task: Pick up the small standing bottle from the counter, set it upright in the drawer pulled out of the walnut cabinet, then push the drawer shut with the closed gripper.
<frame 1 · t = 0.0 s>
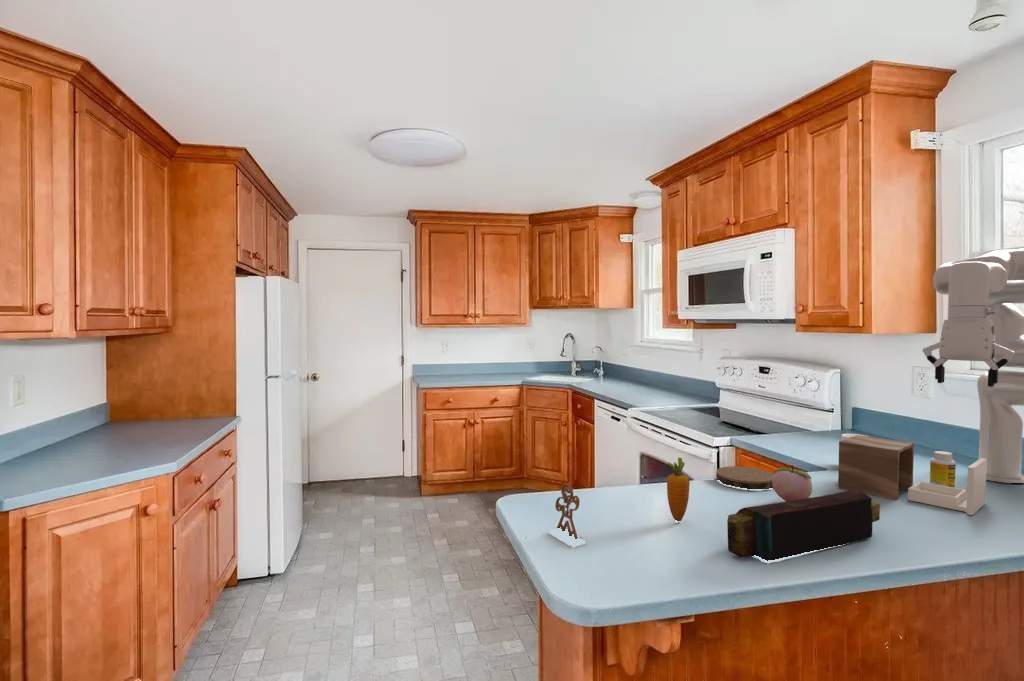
hand: (965, 384, 135), 31 cm above the worktop, tool pointing down, fingers open, 9 cm apart
packaged item: (801, 545, 117), on the worktop
carrot: (677, 524, 129), on the worktop
brown round disc: (745, 484, 161), on the worktop
supplement bottle: (942, 489, 155), on the worktop
cabinet: (875, 488, 155), on the worktop
drawer: (945, 480, 143), point 6 cm above the worktop, slide at 14.0 cm
decorative fruit: (792, 505, 142), on the worktop
gingerbread man figurine: (567, 539, 120), on the worktop
white cup: (855, 468, 178), on the worktop
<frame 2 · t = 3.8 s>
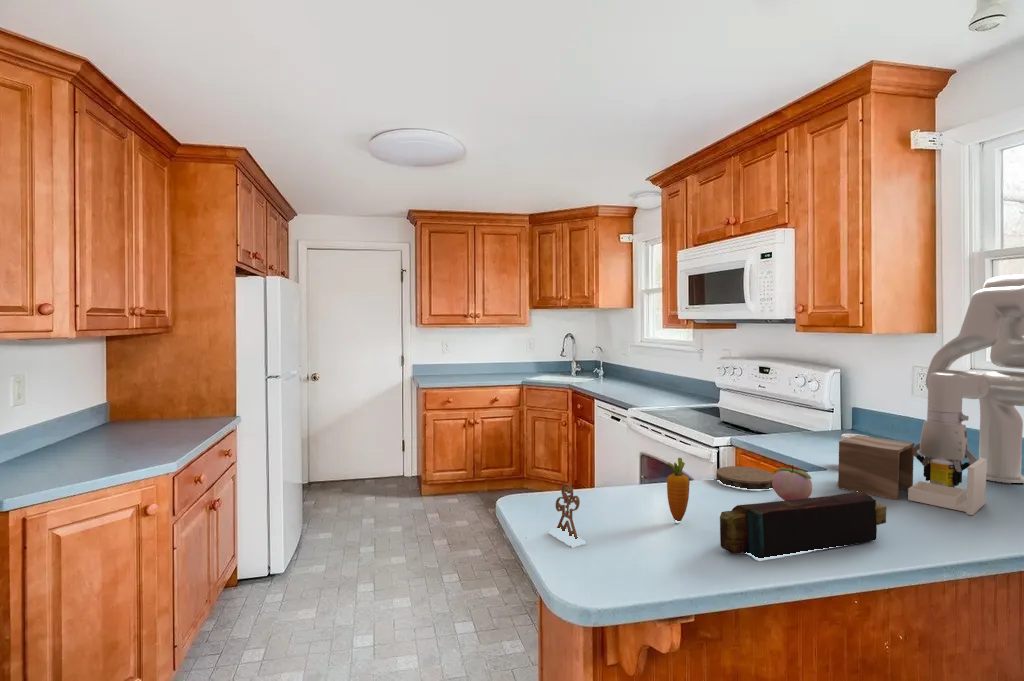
hand: (942, 481, 155), 2 cm above the worktop, tool pointing down, fingers closed on supplement bottle, 5 cm apart
supplement bottle: (942, 489, 155), on the worktop, touching gripper
when the fingers open (5 cm above the worktop, at t = 10.3 s): supplement bottle drops 2 cm, resting on drawer.
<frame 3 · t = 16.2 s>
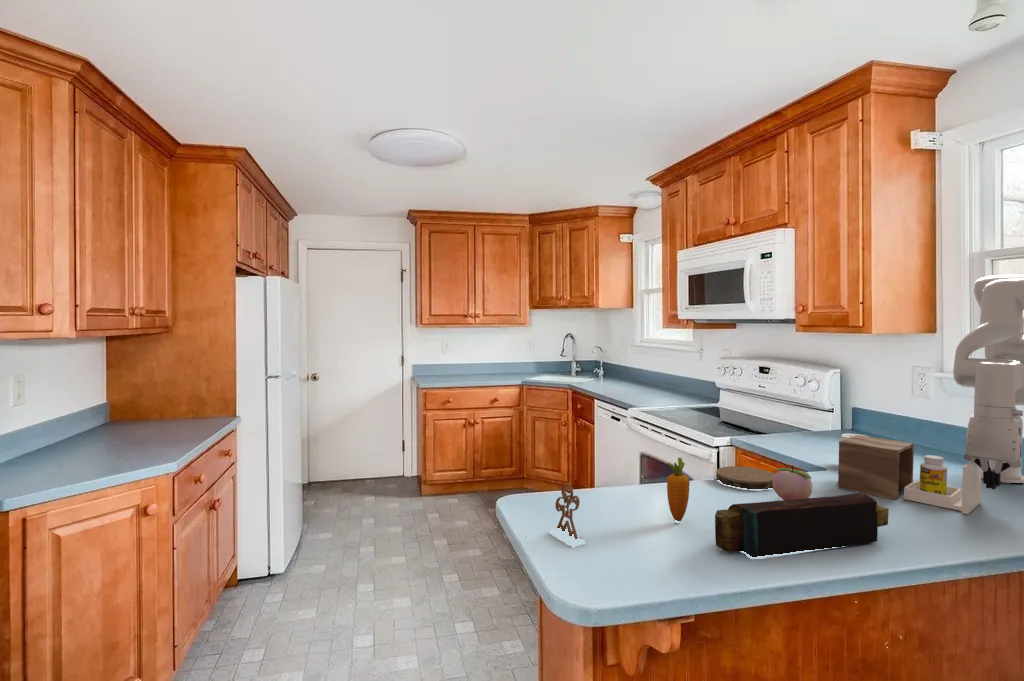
hand: (991, 487, 136), 6 cm above the worktop, tool pointing down, fingers closed
supplement bottle: (932, 496, 145), point 1 cm above the worktop, touching drawer
drawer: (941, 479, 144), point 6 cm above the worktop, slide at 13.1 cm, touching supplement bottle, gripper
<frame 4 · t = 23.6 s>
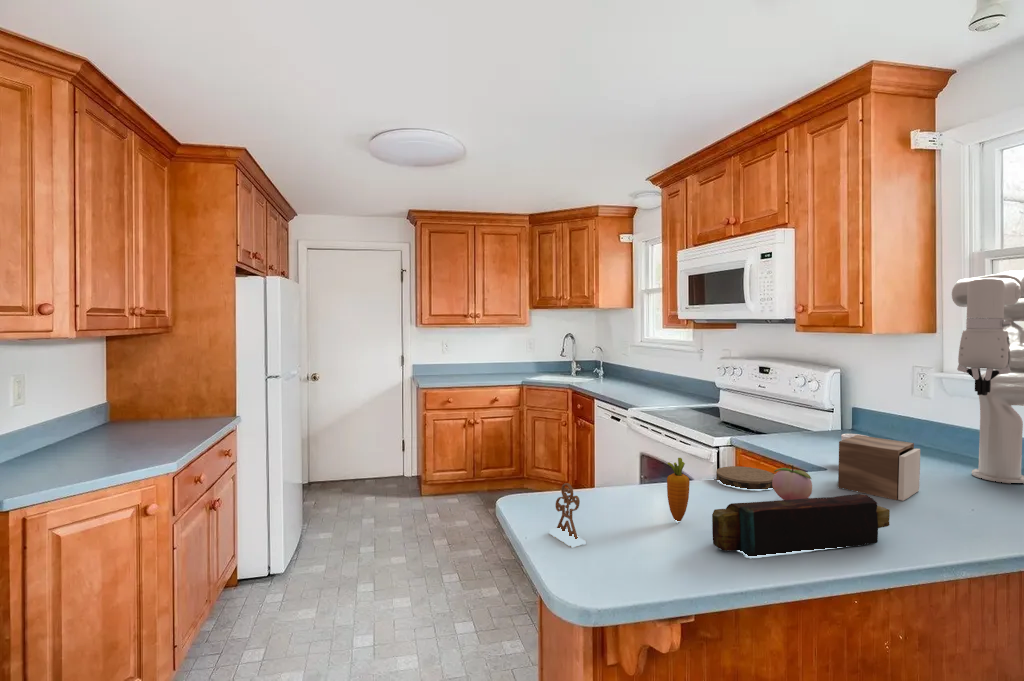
hand: (982, 394, 148), 27 cm above the worktop, tool pointing down, fingers closed
supplement bottle: (875, 485, 155), point 1 cm above the worktop, touching drawer
drawer: (882, 469, 154), point 6 cm above the worktop, slide at 0.0 cm, touching supplement bottle
at the end: drawer slide at 0.0 cm; supplement bottle inside the target area on the cabinet (0.0 cm from its centre), point 1.0 cm above the cabinet's base; supplement bottle tilted 0° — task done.
